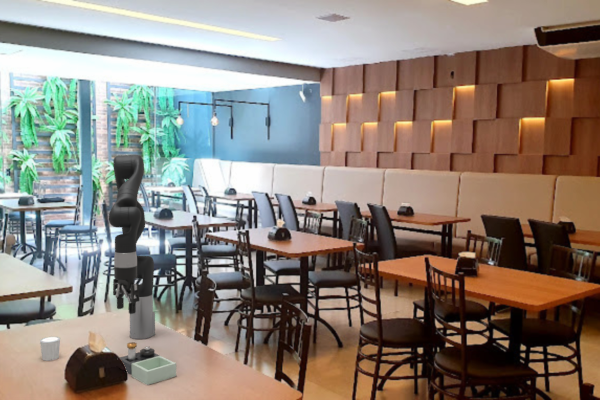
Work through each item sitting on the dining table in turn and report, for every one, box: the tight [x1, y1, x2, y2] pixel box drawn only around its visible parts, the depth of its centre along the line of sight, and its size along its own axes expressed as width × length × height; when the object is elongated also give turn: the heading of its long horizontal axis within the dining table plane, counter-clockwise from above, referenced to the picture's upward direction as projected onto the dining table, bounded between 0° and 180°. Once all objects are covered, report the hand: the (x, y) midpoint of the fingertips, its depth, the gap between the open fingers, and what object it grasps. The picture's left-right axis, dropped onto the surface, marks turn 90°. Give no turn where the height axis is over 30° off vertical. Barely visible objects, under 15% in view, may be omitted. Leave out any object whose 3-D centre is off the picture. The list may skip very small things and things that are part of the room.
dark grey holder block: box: [118, 346, 161, 376], centre depth 202 cm, size 12×9×6 cm
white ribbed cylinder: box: [39, 336, 61, 362], centre depth 209 cm, size 7×7×7 cm
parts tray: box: [131, 355, 177, 386], centre depth 193 cm, size 11×10×4 cm
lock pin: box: [126, 341, 138, 362], centre depth 199 cm, size 3×3×9 cm
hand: (126, 310), depth 198 cm, fingers open, 8 cm apart
